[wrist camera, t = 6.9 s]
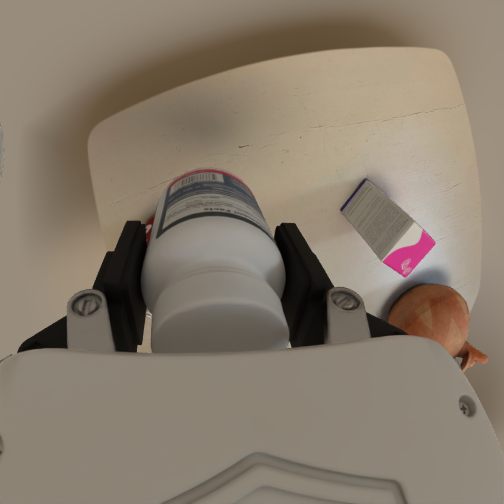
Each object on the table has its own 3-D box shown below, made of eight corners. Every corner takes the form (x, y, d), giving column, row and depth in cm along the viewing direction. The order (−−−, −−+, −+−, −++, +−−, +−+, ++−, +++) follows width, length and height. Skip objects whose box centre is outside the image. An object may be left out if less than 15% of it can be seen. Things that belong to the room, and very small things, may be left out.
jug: (452, 256, 46) (513, 325, 29) (436, 316, 56) (478, 379, 40) (377, 287, 46) (434, 378, 30) (370, 345, 56) (407, 420, 40)
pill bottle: (223, 267, 17) (246, 404, 10) (142, 231, 15) (109, 372, 8) (275, 195, 15) (346, 318, 8) (188, 146, 13) (172, 245, 6)
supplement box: (338, 211, 37) (380, 261, 27) (364, 176, 34) (416, 217, 25) (364, 230, 39) (406, 279, 30) (389, 198, 37) (438, 241, 27)
